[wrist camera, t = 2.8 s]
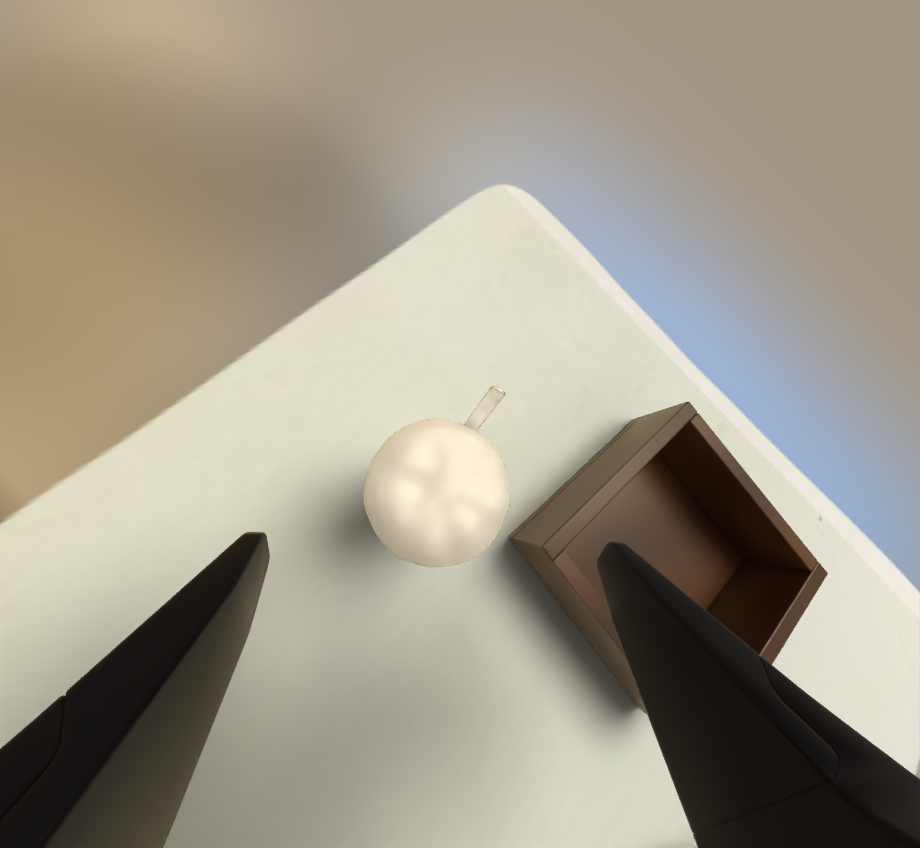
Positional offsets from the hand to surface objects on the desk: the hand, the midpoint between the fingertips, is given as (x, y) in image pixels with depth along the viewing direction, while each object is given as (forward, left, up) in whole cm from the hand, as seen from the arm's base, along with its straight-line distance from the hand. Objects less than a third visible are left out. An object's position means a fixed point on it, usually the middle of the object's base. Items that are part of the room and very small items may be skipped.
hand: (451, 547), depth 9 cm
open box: (-10, -9, -9) cm, 16 cm away
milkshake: (+1, -1, -10) cm, 10 cm away
